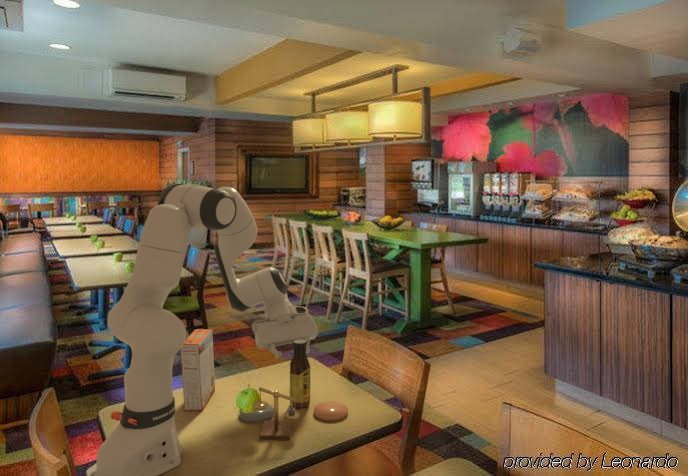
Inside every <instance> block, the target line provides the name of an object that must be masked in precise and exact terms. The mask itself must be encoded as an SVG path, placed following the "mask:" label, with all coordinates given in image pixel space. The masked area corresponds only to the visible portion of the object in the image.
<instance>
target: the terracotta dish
mask: <svg viewBox="0 0 688 476" xmlns="http://www.w3.org/2000/svg"><path fill="white" fill-rule="evenodd" d="M348 414H349V408H348V406H347V405H346V404H344V403H342V402H340V401H333V400H332V401H331V400H329V401H328V400H327V401H323V402H322V401H321V402H320V403H318V404H316V405H315V406H314V408H313V415H314V417H315V418H317V419H319V420H321V421H323V422H325V421H326V422H335V421H336V422H337V421H341V420H343V419H345V418H347V416H348Z"/></svg>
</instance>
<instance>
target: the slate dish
mask: <svg viewBox="0 0 688 476" xmlns="http://www.w3.org/2000/svg"><path fill="white" fill-rule="evenodd" d="M239 418H240V420H241V421H242V422H245V423H249V424H260V423H264V421H271V420H272V419H273V418H274V406H272V405H271V404H269V403H268V407H267V408H265V409H262V410H256V411H254V412H252V413H244V412H242V411H241V409H240V410H239Z"/></svg>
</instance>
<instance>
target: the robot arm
mask: <svg viewBox="0 0 688 476" xmlns="http://www.w3.org/2000/svg"><path fill="white" fill-rule="evenodd" d="M194 228H195V229H201V230H210V231H216V233H217V236H218V240H217V242H216V244H214V255H215V259H216V262H217V266H218V269H219V273H220V275H221V279H222V281H223V286H224V287H225V293H226V300H227V302H228V304H229V306H230V307H231V309H233V310H235V311H238V312H241V313H243V312H245V311H248V310H249V309H252V308H253V307H255V306H258V305H260V304H263V307H264V313H265V317H266V318H262V319H256V320H254V321H253V322H252V323H251V329H252V332H253V333H254V339H255V344H256V347H257V348H258V349H260V350H263V349H268V348H269V351H270V352H271V353H272V354H273V355H274V357H275V359H276V360H281V359H282V358H283V354H282V351H281V350H278V349H277V348H276V347H278V346H284V345H290V344H293V342H294V341H295V340H299V339H302V340H306V341H307V346H306V354H309V353H310V352H311V349H310V342H311V340H315V339H316V338H317V336H318V334H319V329H318V327H317V325H316V323H315V321H314V318H313V317H312V316H311V315H310V314H309V308H308V307H304V306H298V305H294V304H292V303H291V301H290V299H289V297H288V284H287V282H286V279H285V277H284V274H283V272H282V271H281V270H280V269H277V268H276V267H273V266H270V267H265V268H263V269H260V270H258V271H256V272H253V273H251V274H249V275H245V276H244V277H240V278H238V277H237V275H236V273H235V269H234V267H233V264H234V263H235V261H236V260H237V259H238V258H240V256H241V255H242V254H244V253H245V252H246V251H247V250H249V249H250V248H251V247H252V246H253V244H254V243H255V241H256V239H257V236H258V231H259V230H258V226H257V222H256V220H255V218H254V215H253V213H252V211H251V209H250V208H249V206H248V204H247V202H246V201H245V200H244V198H243V196H242V195H241V194H240V193H239V191H237V190H236V188H233V187H230V186H221V187H219V188H212V187H209V186H205V185H204V186H203V185H201V184H190V183H189V184H188V183H187V184H184V183H174V184H170V185H169V186H167V187H166V188H165V189H164V190H163V191H162V193H160V196H159V199H158V203H157V205H155V206H153V207H152V208H151V210H150V212H149V214H148V215H147V218H146V219H145V223H144V225H143V228H142V232H141V235H140V238H139V243H138V247H137V252H136V256H135V259H134V265H133V269H132V272H131V276H130V279H129V281H128V284H127V285H126V287H125V290H124V292H123V294H122V295H121V297H120V299H119V301H118V302H117V303H115V304H114V305H113V306H112V308H111V309H110V310H109V312H108V315H107V320H106V321H107V325H108V328H109V330H110V331H111V333H112V334H113V335H114V337H116V339H118V341H120V342H122V343H124V344H126V345H128V346H129V347H130V349H131V360H130V361H131V362H130V365H129V368H128V369H127V370H125V373H124V375H123V376H124V377H123V380H124V381H123V382H124V385H123V386H124V400H125V403H124V406H123V409H122V412H121V411H118V410H113V411H112V412H111V414H110V418H111V419H112V420H115V421H116V422H118V421H119V423H118V425H117V426H116V427H115V428H114V430H113V431H112V432H111V433H110V435H109V436H108V437H107V438H106V439H105V440H104V441H103V442H102V444H101V445H100V446H99V448H98V450H97V453H96V462H95V463H94V464H93V465H91V466H90V467H89V468H88V469H87V470H86V474H85V475H86V476H159V475H161V474H164V473H166V472H168V471H170V470H172V469H174V468H176V467H178V466H179V465H181V464H182V461H181V455H182V452H183V447H182V444H181V443H180V438H179V434H178V431H177V426H176V419H175V414H176V400H175V396H173V395H174V394H173V393H174V391H173V366H174V363H175V362H174V361H175V357H176V355H177V353H178V352H179V351H181V347H182V346H183V344H184V342H185V340H186V339H187V338H186V337H187V328H186V326H185V324H184V322H183V321H182V320H181V319H180V318H179V317H178V316H177V315H176V314H174V313H173V312H171V311H169V310H167V309H164V304H165V302H166V300H167V298H168V296H169V294H170V293H171V291H172V290H174V289H175V288H177V286H178V285H179V283H180V281H181V276H182V272H183V265H184V262H185V257H186V251H187V246H188V239H189V233H190V232H191V230H192V229H194Z"/></svg>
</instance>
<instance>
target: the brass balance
mask: <svg viewBox="0 0 688 476" xmlns="http://www.w3.org/2000/svg"><path fill="white" fill-rule="evenodd" d="M258 391H259V401H255V402H254V404H253V403H252V404H253V408H254V409H257V410H262V409H265V408H267V407H268V404H269V403H268V402H267V401H265V400H262V393H265V394H268V395H271V396H273V408H274V416H273V419H274V420H268V421H264V422H262V426H261V428H260V429H261V430H260V433H259V441H260V440H266V441H267V440H269V441H270V440H272V441H279V440H280V441H281V440H282V441H284V440H285V441H287V440H289V441H290V439H291V435H292V430H293V425H294V424H293V420H297V419H299V417H300V412H299V411H296V407H293V406H292V401H293V397H290V395H286V394H283V393H280V392H279V391H278V390H269V389H267V388H264V387H259V388H258ZM279 398H282V399H285V400H288V401H290V400H291V404H290V406H291V407H289V408H288V411H286V412H285V413H284V418H285V419H287V420H280V419H279V417H280V415H279Z"/></svg>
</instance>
